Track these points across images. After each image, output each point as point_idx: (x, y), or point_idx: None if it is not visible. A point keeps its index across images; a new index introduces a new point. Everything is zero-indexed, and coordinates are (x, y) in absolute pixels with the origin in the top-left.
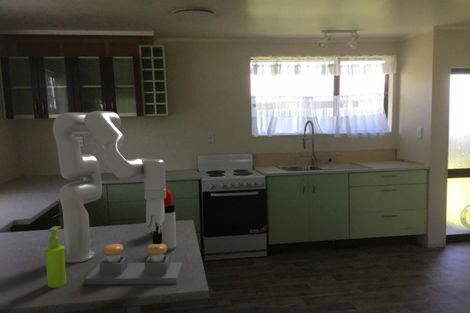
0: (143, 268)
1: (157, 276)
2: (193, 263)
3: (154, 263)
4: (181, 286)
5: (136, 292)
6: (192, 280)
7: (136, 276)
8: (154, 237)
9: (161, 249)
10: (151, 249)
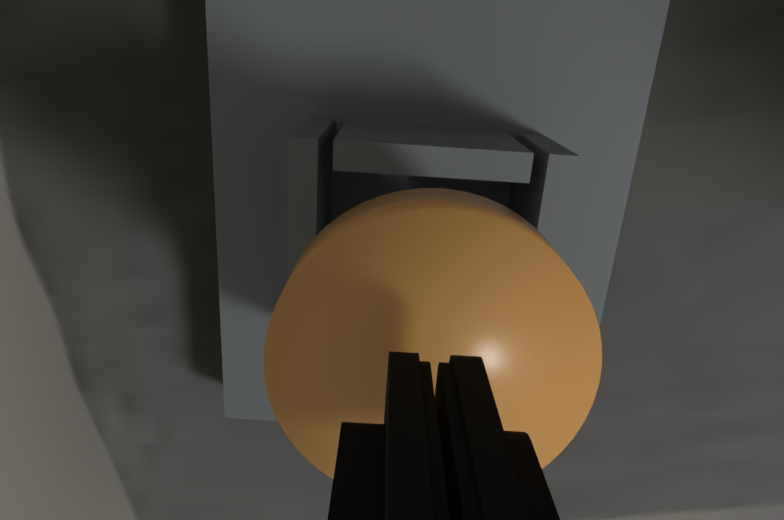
0: (475, 70)
1: (256, 256)
2: (628, 482)
3: (287, 265)
4: (189, 424)
5: (48, 79)
6: (293, 488)
7: (254, 31)
8: (332, 499)
9: (302, 449)
10: (287, 304)
